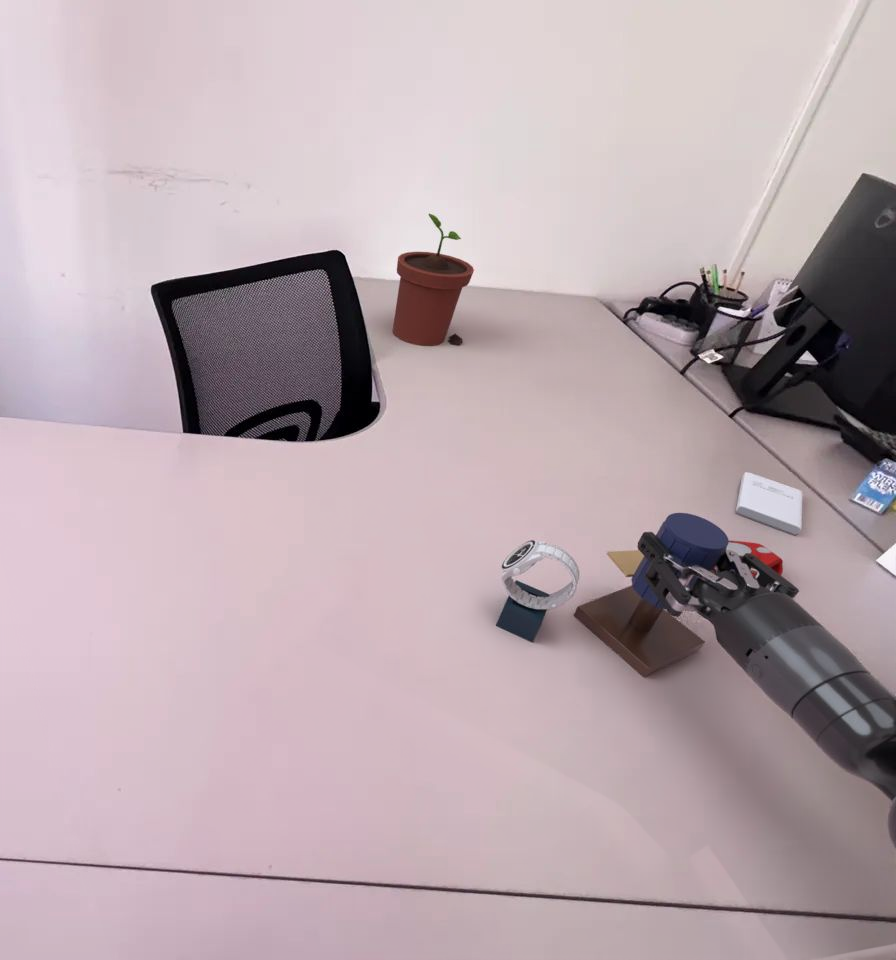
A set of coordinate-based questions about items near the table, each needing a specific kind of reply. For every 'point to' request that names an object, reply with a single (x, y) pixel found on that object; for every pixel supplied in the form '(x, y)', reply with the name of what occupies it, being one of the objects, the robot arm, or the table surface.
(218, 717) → the table surface
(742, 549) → the tracker holder
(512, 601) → the watch
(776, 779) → the table surface
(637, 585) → the cap
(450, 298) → the potted plant
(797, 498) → the hard drive
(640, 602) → the stand
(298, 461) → the table surface
